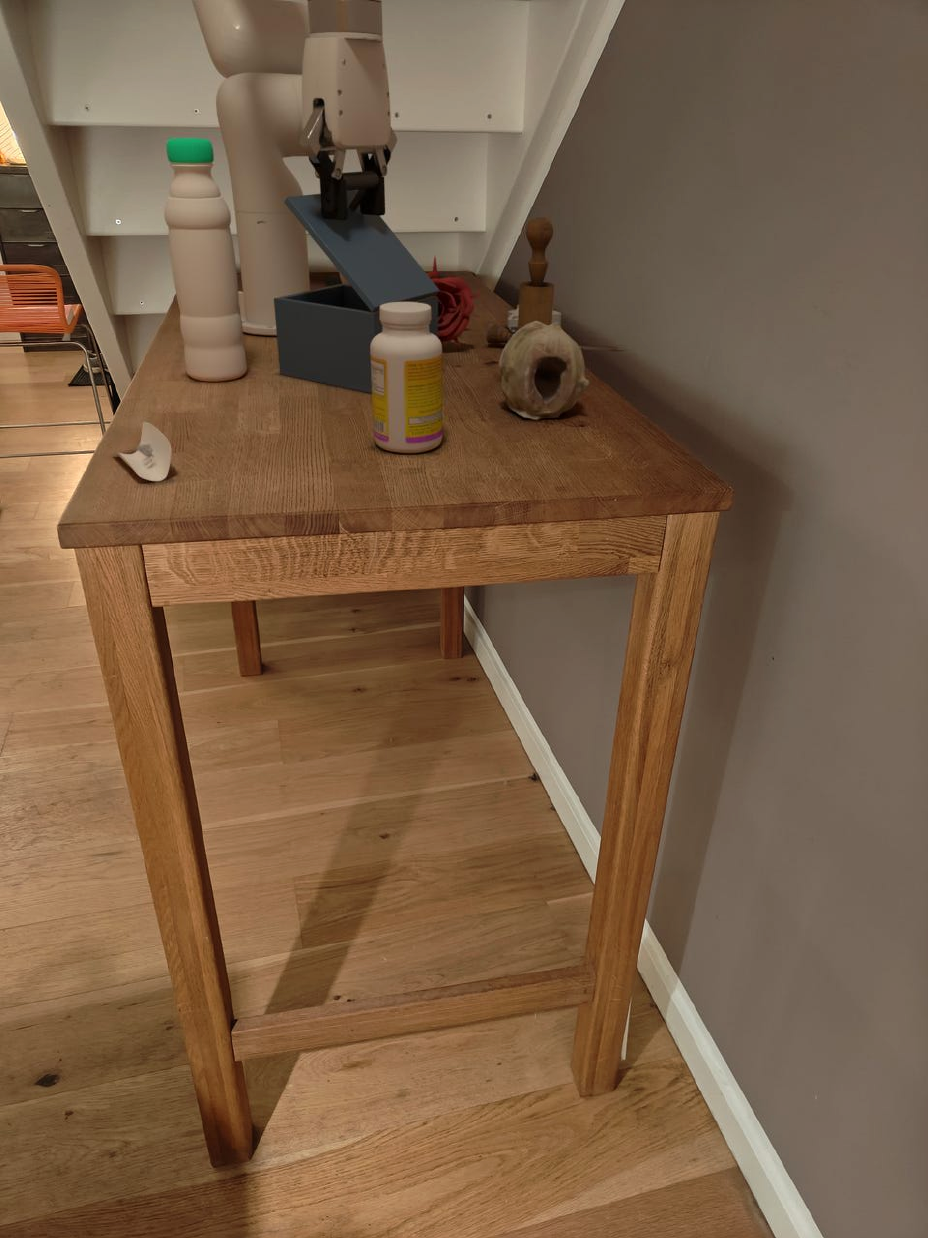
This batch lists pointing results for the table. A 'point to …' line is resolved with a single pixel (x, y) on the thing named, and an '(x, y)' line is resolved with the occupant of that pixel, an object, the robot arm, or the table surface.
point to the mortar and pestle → (537, 277)
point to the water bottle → (203, 265)
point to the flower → (452, 305)
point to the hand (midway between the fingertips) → (354, 215)
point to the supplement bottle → (406, 380)
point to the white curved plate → (150, 454)
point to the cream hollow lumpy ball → (542, 371)
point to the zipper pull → (513, 319)
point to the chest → (331, 335)
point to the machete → (503, 335)
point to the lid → (364, 247)
